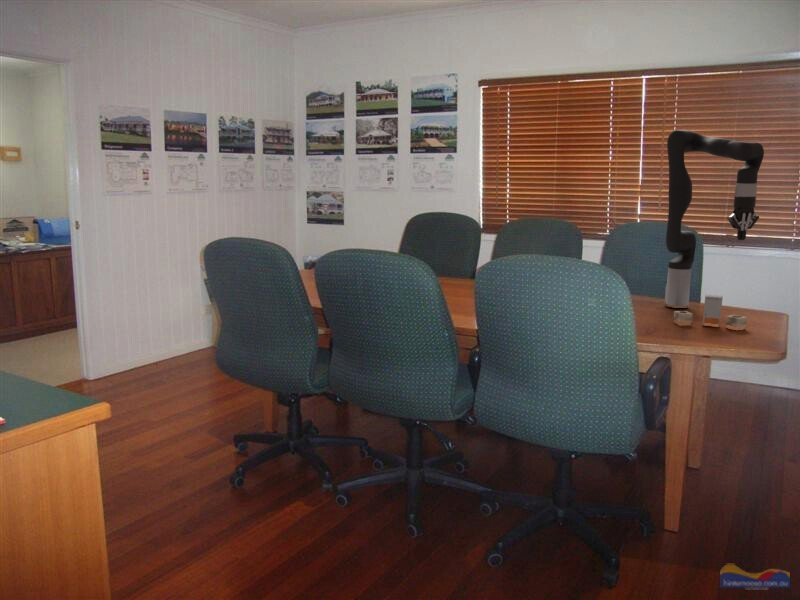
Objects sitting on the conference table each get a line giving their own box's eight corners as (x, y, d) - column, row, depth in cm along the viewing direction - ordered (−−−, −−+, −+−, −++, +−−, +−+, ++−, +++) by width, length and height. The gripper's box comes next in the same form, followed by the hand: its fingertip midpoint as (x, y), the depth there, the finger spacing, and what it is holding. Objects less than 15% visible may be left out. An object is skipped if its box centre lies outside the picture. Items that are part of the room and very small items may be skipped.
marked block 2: (725, 328, 254) (726, 315, 253) (734, 327, 256) (735, 313, 255) (736, 331, 250) (738, 318, 248) (745, 330, 252) (747, 316, 251)
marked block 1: (673, 323, 263) (674, 310, 262) (685, 323, 263) (686, 310, 262) (678, 326, 258) (679, 313, 257) (691, 326, 258) (692, 313, 257)
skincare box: (702, 326, 257) (704, 296, 254) (702, 324, 261) (705, 294, 258) (719, 328, 254) (722, 297, 252) (720, 326, 258) (722, 295, 255)
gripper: (753, 194, 263) (749, 238, 267) (723, 195, 261) (719, 239, 264) (767, 195, 256) (762, 240, 259) (737, 196, 253) (732, 241, 257)
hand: (741, 239), depth 262 cm, fingers closed
